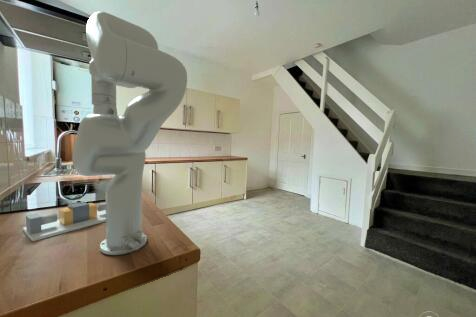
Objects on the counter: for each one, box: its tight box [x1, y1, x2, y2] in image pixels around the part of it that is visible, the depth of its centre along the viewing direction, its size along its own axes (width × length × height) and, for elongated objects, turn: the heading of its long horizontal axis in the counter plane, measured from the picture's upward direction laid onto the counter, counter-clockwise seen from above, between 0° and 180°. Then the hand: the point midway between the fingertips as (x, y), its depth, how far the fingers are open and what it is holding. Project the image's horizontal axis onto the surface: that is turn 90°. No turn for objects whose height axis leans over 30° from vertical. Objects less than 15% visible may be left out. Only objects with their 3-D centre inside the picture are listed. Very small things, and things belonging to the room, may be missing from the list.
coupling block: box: [58, 201, 97, 226], centre depth 75 cm, size 5×10×6 cm, turn 146°
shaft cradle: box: [22, 202, 106, 242], centre depth 75 cm, size 12×27×6 cm, turn 146°
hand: (104, 148), depth 75 cm, fingers open, 9 cm apart
